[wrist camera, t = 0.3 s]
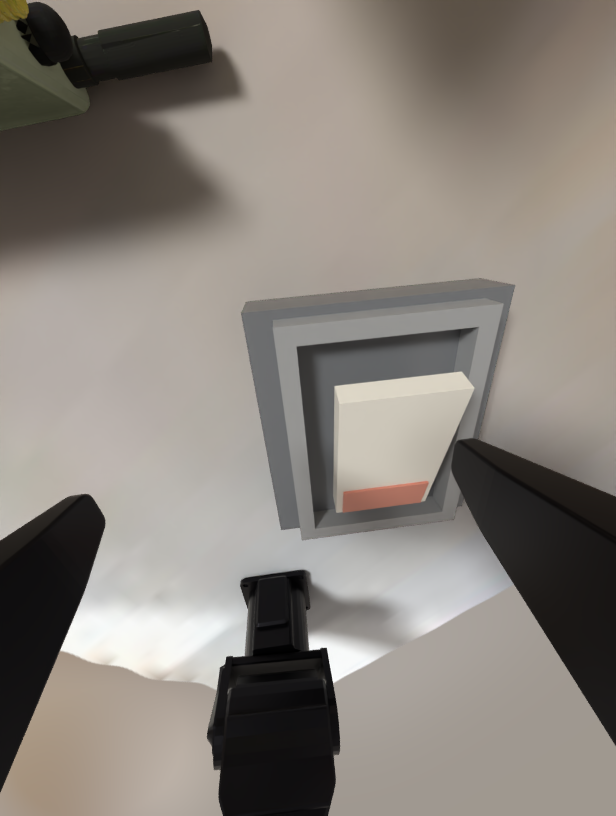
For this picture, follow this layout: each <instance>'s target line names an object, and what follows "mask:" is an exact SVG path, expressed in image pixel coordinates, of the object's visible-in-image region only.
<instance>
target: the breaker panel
mask: <svg viewBox="0 0 616 816" xmlns="http://www.w3.org/2000/svg"><path fill="white" fill-rule="evenodd" d="M514 288H515V285H512V284H507V283H502V282H497V281H492V280H487V279H482V278H479V279H469V280H459V281H449V282H439V283H429V284H419V285H409V286H399V287H389V288H379V289H370V290H360V291H350V292H340V293H330V294H320V295H310V296H300V297H290V298H280V299H270V300H260V301H250V302H246V303H245V306H244V308H243V310H242V312H241V315H242V321H243V326H244V331H245V337H246V342H247V348H248V353H249V358H250V364H251V369H252V375H253V380H254V385H255V391H256V396H257V402H258V407H259V413H260V418H261V423H262V429H263V434H264V440H265V445H266V450H267V456H268V461H269V467H270V472H271V477H272V483H273V488H274V494H275V499H276V505H277V510H278V515H279V521H280V526H281V530H285V529H293V528H300V530H301V537H302V540H308V539H315V538H322V537H330V536H337V535H345V534H352V533H359V532H367V531H374V530H381V529H389V528H396V527H404V526H411V525H418V524H426V523H433V522H441V521H448V520H454V517H455V513H456V508H457V506H462V503H463V499H464V497H463V495H462V493H461V491H460V489H459V487H458V485H457V483H456V481H455V479H454V477H453V474H452V471H451V462H452V456H453V450H454V444H455V442H456V441H457V440H460V439H467V438H475V439H478V437H479V433H480V428H481V424H482V420H483V416H484V412H485V408H486V404H487V399H488V395H489V391H490V387H491V383H492V379H493V375H494V371H495V366H496V362H497V358H498V354H499V350H500V346H501V342H502V337H503V333H504V329H505V325H506V321H507V317H508V313H509V308H510V304H511V300H512V296H513V292H514ZM453 372H463V374H464V375H465V376H466V378H467V379H468V380H469V381H470V383H471V384H472V385H473V387H474V388H475V389H474V391H473V393H472V395H471V398H470V400H469V402H468V405H467V407H466V409H465V411H464V414H463V416H462V418H461V420H460V423H459V425H458V427H457V430H456V432H455V434H454V436H453V439H452V441H451V443H450V445H449V448H448V450H447V452H446V454H445V457H444V459H443V461H442V464H441V466H440V468H439V470H438V473H437V475H436V477H435V479H434V482H433V484H432V486H431V489H430V491H429V493H428V495H427V498H426V500H425V501H422V502H421V503H413V504H405V505H398V506H390V507H383V508H375V509H368V510H360V511H353V512H345V513H343V512H339V513H336V508H335V503H334V498H333V473H334V387H335V386H339V385H348V384H356V383H365V382H374V381H383V380H391V379H400V378H409V377H418V376H427V375H435V374H444V373H453Z"/></svg>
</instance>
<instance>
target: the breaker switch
mask: <svg viewBox="0 0 616 816" xmlns="http://www.w3.org/2000/svg"><path fill="white" fill-rule="evenodd" d="M474 389H475V388H474V387H473V385H472V384H471V383H470V381H469V380H468V379H467V378H466V376H465V375H464V374H463V372H453V373H444V374H435V375H427V376H418V377H409V378H400V379H391V380H383V381H374V382H365V383H356V384H348V385H339V386H335V387H334V473H333V498H334V503H335V508H336V513H339V512H343V513H345V512H353V511H360V510H368V509H375V508H383V507H390V506H398V505H405V504H413V503H421V502H422V501H425V500H426V498H427V495H428V493H429V491H430V489H431V486H432V484H433V482H434V479H435V477H436V475H437V473H438V470H439V468H440V466H441V464H442V461H443V459H444V457H445V454H446V452H447V450H448V448H449V445H450V443H451V441H452V439H453V436H454V434H455V432H456V430H457V427H458V425H459V423H460V420H461V418H462V416H463V414H464V411H465V409H466V407H467V405H468V402H469V400H470V398H471V395H472V393H473V391H474Z"/></svg>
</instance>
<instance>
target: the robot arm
mask: <svg viewBox="0 0 616 816" xmlns="http://www.w3.org/2000/svg"><path fill="white" fill-rule="evenodd" d="M451 471H452V474H453V477H454V479H455V481H456V483H457V485H458V487H459V489H460V491H461V493H462V495H463V497H464V499H465V501H466V503H467V505H468V507H469V509H470V511H471V513H472V515H473V517H474V519H475V521H476V523H477V525H478V527H479V529H480V530H481V532H482V534H483V535H484V537H485V539H486V540H487V542H488V544H489V545H490V547H491V548H492V550H493V552H494V553H495V555H496V556H497V558H498V559H499V561H500V563H501V564H502V566H503V567H504V569H505V571H506V572H507V574H508V575H509V577H510V579H511V580H512V582H513V583H514V585H515V586H516V588H517V590H518V591H519V593H520V594H521V596H522V597H523V599H524V601H525V602H526V604H527V606H528V607H529V609H530V610H531V612H532V614H533V615H534V616H535V618H536V620H537V621H538V623H539V625H540V626H541V628H542V629H543V631H544V633H545V634H546V636H547V637H548V639H549V640H550V642H551V644H552V645H553V647H554V648H555V650H556V652H557V653H558V655H559V656H560V658H561V660H562V661H563V663H564V664H565V666H566V667H567V669H568V671H569V672H570V674H571V675H572V677H573V679H574V680H575V682H576V683H577V685H578V687H579V688H580V690H581V691H582V693H583V695H584V696H585V698H586V699H587V701H588V703H589V704H590V706H591V707H592V709H593V710H594V712H595V713H596V715H597V717H598V718H599V720H600V721H601V723H602V725H603V726H604V728H605V730H606V731H607V732H608V734H609V736H610V738H611V739H612V741H613V742H614V744H615V745H616V497H615V496H613V495H611V494H608V493H606V492H603V491H601V490H599V489H596V488H594V487H591V486H589V485H586V484H584V483H582V482H579V481H577V480H574V479H572V478H570V477H567V476H565V475H562V474H560V473H557V472H555V471H553V470H550V469H548V468H545V467H543V466H541V465H538V464H536V463H533V462H531V461H528V460H526V459H524V458H521V457H519V456H516V455H514V454H512V453H509V452H507V451H504V450H502V449H500V448H497V447H495V446H492V445H490V444H487V443H485V442H483V441H480V440H478V439H475V438H467V439H460V440H457V441H456V442H455V444H454V450H453V456H452V462H451ZM104 529H105V517H104V515H103V514H102V512H101V510H100V509H99V507H98V505H97V504H96V502H95V501H94V499H93V498H92V496H90V495H89V494H80V495H73V496H69V497H67V498H65V499H64V500H62V501H61V502H59V503H57V504H56V505H54V506H53V507H51V508H50V509H48V510H47V511H45V512H44V513H42V514H41V515H39V516H37V517H36V518H34V519H33V520H31V521H30V522H28V523H27V524H25V525H24V526H22V527H21V528H19V529H17V530H16V531H14V532H13V533H11V534H10V535H8V536H7V537H5V538H4V539H2V540H0V792H1V790H2V787H3V785H4V783H5V780H6V778H7V775H8V773H9V771H10V768H11V766H12V763H13V761H14V759H15V756H16V754H17V752H18V749H19V746H20V744H21V742H22V740H23V737H24V735H25V733H26V730H27V728H28V725H29V723H30V721H31V718H32V716H33V713H34V711H35V708H36V706H37V704H38V702H39V699H40V697H41V694H42V692H43V689H44V687H45V685H46V683H47V680H48V678H49V675H50V673H51V671H52V668H53V666H54V664H55V661H56V659H57V656H58V654H59V652H60V649H61V647H62V644H63V642H64V640H65V637H66V635H67V633H68V630H69V628H70V625H71V623H72V621H73V618H74V616H75V614H76V611H77V609H78V606H79V604H80V602H81V599H82V596H83V594H84V591H85V588H86V586H87V583H88V580H89V577H90V573H91V570H92V567H93V564H94V561H95V557H96V554H97V551H98V548H99V545H100V541H101V538H102V535H103V532H104ZM240 587H241V590H242V593H243V596H244V599H245V602H246V605H247V608H248V618H247V632H246V646H245V656H242V657H233V656H227V657H226V663H225V665H224V666H222V667H220V672H219V680H218V687H217V693H216V698H215V702H214V706H213V710H212V714H211V718H210V722H209V727H208V733H207V739H208V741H209V742H210V744H211V745H212V754H213V765H214V770H221V773H220V783H219V803H220V807H221V810H222V814H223V816H328V812H329V809H330V805H331V800H332V796H333V793H334V788H335V782H336V778H335V766H334V756H333V755H339V752H340V734H339V721H338V712H337V704H336V698H335V692H334V687H333V681H332V675H331V670H330V664H329V659H328V653H327V648H320V650H310V651H309V642H308V630H307V618H306V610H309V609H310V600H309V593H308V586H307V578H306V573H305V572H304V571H296V572H289V573H282V574H275V575H268V576H261V577H254V578H246V579H243V580H241V584H240Z"/></svg>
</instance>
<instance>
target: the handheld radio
mask: <svg viewBox="0 0 616 816" xmlns="http://www.w3.org/2000/svg"><path fill="white" fill-rule="evenodd" d="M208 62H212V44H211V39H210V35H209V31H208V27H207V25H206V23H205V21H204V19H203V17H202V15H201V13H200V11H199V10H197V11H192V12H187V13H182V14H177V15H172V16H167V17H162V18H157V19H152V20H148V21H143V22H138V23H133V24H128V25H123V26H118V27H113V28H108V29H103V30H99V31H98V34H97V35H92V36H87V37H82V38H78V37H77V36H76V35H74V36H71V35H70V32H69V30H68V28H67V26H66V24H65V23H64V21H63V20H62V18H61V17H60V16H59V15H58V13H57V12H55V11H54V10H53V9H52V8H51V7H49V6H48V5H46V4H44V3H41V2H34V3H29V4H27V2H26V0H0V131H1V130H6V129H11V128H16V127H21V126H26V125H31V124H36V123H41V122H46V121H51V120H56V119H61V118H66V117H71V116H76V115H80V114H83V113H85V112H86V111H87V110H88V108H89V105H90V101H89V96H88V93H87V91H86V88H85V87H90V86H95V85H98V84H99V81H104V80H109V79H114V78H117V79H118V80H123V79H128V78H133V77H138V76H143V75H148V74H153V73H158V72H163V71H168V70H173V69H178V68H183V67H188V66H193V65H198V64H203V63H208Z"/></svg>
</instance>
